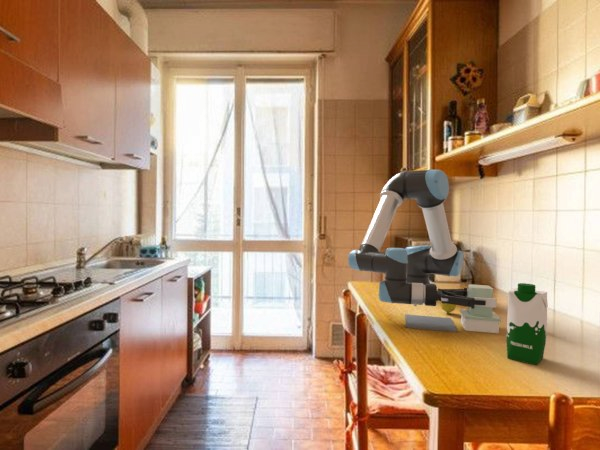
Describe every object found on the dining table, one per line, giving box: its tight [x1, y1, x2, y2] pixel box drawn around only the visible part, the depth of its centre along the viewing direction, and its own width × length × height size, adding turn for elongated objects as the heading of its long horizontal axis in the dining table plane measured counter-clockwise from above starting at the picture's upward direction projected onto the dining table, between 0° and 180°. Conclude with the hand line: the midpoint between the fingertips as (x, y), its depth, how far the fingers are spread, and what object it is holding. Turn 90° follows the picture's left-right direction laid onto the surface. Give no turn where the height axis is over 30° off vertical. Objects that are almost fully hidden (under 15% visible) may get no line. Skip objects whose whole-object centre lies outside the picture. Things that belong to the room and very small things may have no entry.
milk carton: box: [506, 282, 548, 366], centre depth 106 cm, size 9×9×20 cm
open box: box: [460, 313, 500, 334], centre depth 134 cm, size 10×10×4 cm
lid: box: [459, 283, 502, 323], centre depth 134 cm, size 11×11×10 cm
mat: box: [404, 313, 458, 333], centre depth 138 cm, size 16×16×1 cm
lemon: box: [440, 302, 457, 314], centre depth 153 cm, size 6×6×8 cm
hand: (491, 299), depth 133 cm, fingers open, 12 cm apart
